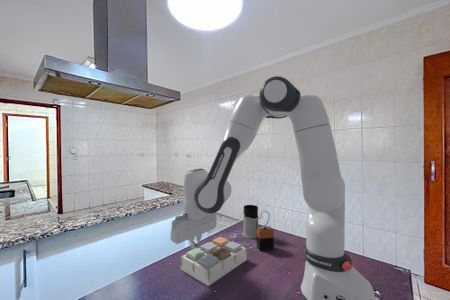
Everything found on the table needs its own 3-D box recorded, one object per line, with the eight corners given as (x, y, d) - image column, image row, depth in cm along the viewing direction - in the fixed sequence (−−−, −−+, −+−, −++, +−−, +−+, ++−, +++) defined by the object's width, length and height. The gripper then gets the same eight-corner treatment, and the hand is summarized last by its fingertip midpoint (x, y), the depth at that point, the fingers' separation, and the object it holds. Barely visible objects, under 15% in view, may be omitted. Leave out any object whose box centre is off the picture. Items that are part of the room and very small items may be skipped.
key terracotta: (228, 246, 93) (228, 239, 93) (220, 250, 90) (220, 243, 90) (219, 243, 97) (219, 236, 97) (212, 247, 93) (212, 240, 93)
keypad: (246, 260, 89) (246, 244, 89) (208, 286, 72) (208, 267, 72) (219, 248, 99) (219, 234, 99) (180, 269, 82) (180, 252, 82)
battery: (256, 246, 101) (256, 225, 100) (270, 245, 102) (270, 224, 102) (259, 251, 96) (259, 229, 96) (274, 249, 98) (274, 228, 97)
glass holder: (245, 230, 120) (245, 203, 120) (271, 234, 114) (271, 206, 114) (240, 236, 112) (240, 208, 112) (267, 241, 106) (267, 211, 106)
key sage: (204, 259, 83) (204, 251, 83) (194, 264, 79) (194, 256, 79) (196, 255, 86) (196, 247, 86) (186, 260, 82) (186, 252, 82)
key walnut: (230, 258, 84) (230, 250, 83) (221, 263, 80) (221, 255, 80) (220, 254, 87) (220, 246, 87) (212, 259, 83) (212, 251, 83)
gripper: (177, 219, 73) (177, 260, 73) (219, 207, 88) (218, 240, 88) (166, 215, 77) (166, 254, 77) (208, 204, 92) (208, 236, 92)
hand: (195, 246), depth 83 cm, fingers closed
